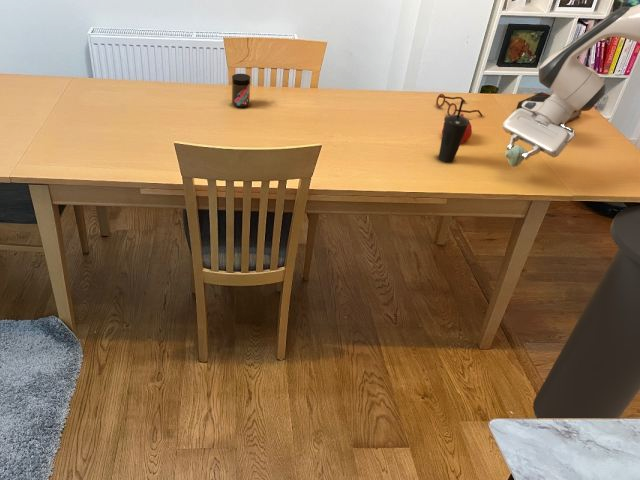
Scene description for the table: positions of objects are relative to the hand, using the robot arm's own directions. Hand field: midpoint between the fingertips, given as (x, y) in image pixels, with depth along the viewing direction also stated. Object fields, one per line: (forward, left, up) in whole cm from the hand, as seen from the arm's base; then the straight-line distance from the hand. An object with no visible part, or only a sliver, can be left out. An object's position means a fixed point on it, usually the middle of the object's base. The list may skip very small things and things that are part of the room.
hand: (515, 153), depth 177 cm
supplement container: (+83, +50, -9) cm, 98 cm away
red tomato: (+28, -5, -9) cm, 30 cm away
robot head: (0, -1, -5) cm, 5 cm away
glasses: (+45, -23, -9) cm, 51 cm away
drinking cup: (+18, +8, -9) cm, 22 cm away
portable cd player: (+28, -52, -9) cm, 60 cm away
